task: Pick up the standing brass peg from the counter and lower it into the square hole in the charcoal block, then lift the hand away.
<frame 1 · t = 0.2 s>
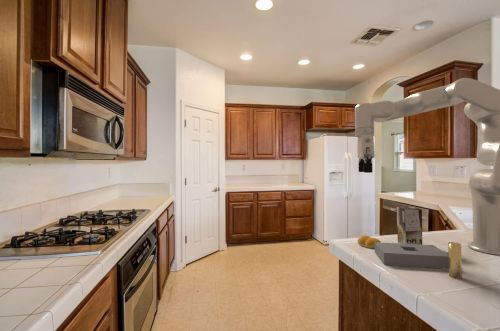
hand: (365, 172, 107), 31 cm above the table, tool pointing down, fingers open, 9 cm apart
bread roll: (369, 246, 105), on the table
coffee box: (409, 246, 104), on the table
hole block: (409, 260, 88), on the table
brass peg: (455, 276, 75), on the table
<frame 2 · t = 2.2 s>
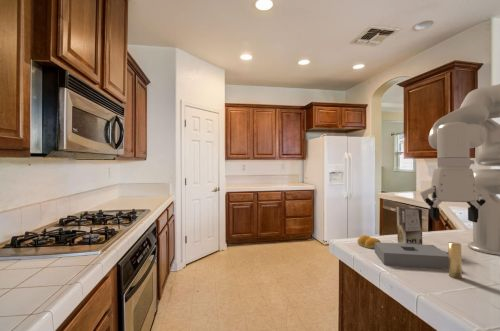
hand: (453, 220, 75), 17 cm above the table, tool pointing down, fingers open, 9 cm apart
nothing on the table moved.
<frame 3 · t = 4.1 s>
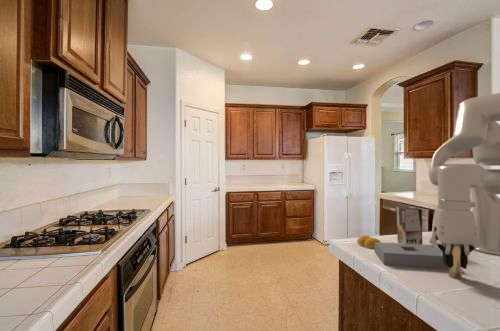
hand: (455, 266, 75), 3 cm above the table, tool pointing down, fingers closed on brass peg, 3 cm apart
brass peg: (455, 276, 75), on the table, touching gripper
everything else where it was.
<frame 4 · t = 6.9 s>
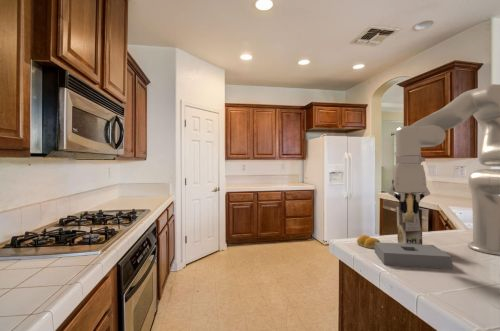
hand: (409, 212, 88), 17 cm above the table, tool pointing down, fingers closed on brass peg, 3 cm apart
brass peg: (409, 221, 88), point 14 cm above the table, touching gripper
everything else where it was.
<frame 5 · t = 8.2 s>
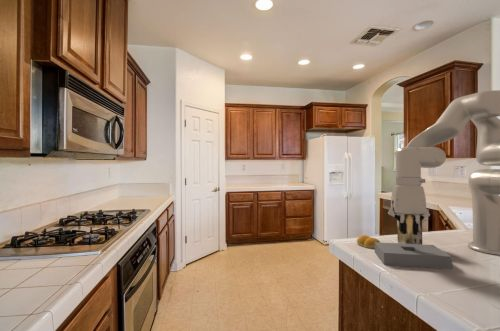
hand: (408, 233, 88), 10 cm above the table, tool pointing down, fingers closed on brass peg, 3 cm apart
brass peg: (408, 242, 88), point 6 cm above the table, touching gripper
everything else where it was.
when the fingers open (6 cm above the table, at t = 9.6 s): brass peg drops 2 cm, resting in hole block.
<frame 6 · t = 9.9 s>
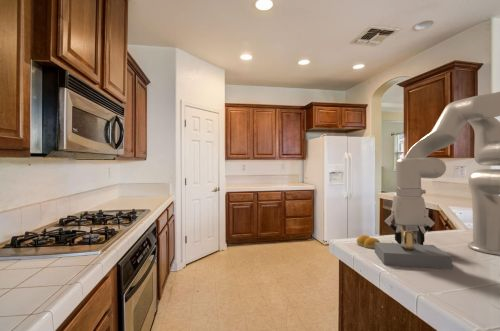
hand: (409, 242, 88), 6 cm above the table, tool pointing down, fingers open, 6 cm apart
brass peg: (409, 259, 88), resting in hole block
everything else where it was.
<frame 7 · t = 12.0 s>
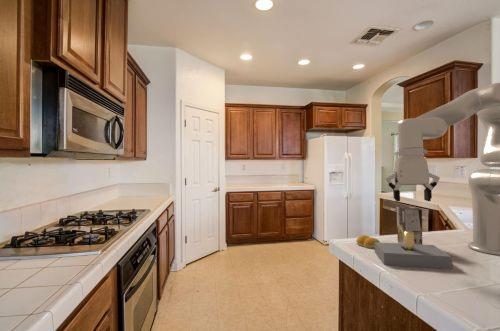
hand: (412, 200, 89), 21 cm above the table, tool pointing down, fingers open, 9 cm apart
nothing on the table moved.
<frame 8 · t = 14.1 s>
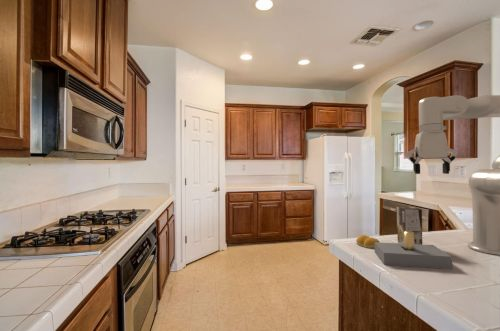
hand: (431, 173, 96), 30 cm above the table, tool pointing down, fingers open, 9 cm apart
nothing on the table moved.
at the end: brass peg 0.1 cm off-centre on the hole block, point 0.0 cm above the hole block's base; brass peg tilted 0°; the gripper is holding nothing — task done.
